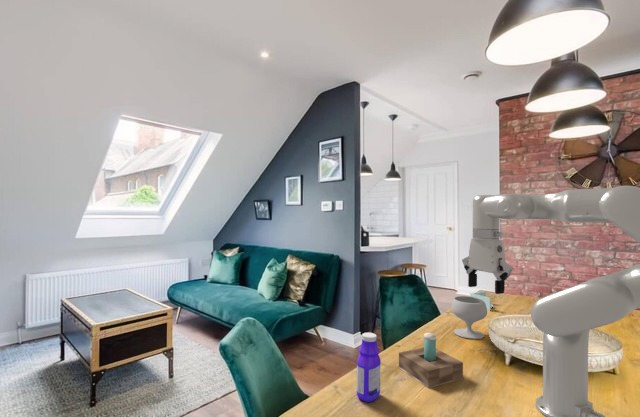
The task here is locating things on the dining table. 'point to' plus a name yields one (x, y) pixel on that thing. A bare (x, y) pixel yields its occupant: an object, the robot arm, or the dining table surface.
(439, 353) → the socket block
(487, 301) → the l-shaped corner panel
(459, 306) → the chalice
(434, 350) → the peg
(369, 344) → the bottle
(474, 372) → the dining table surface
